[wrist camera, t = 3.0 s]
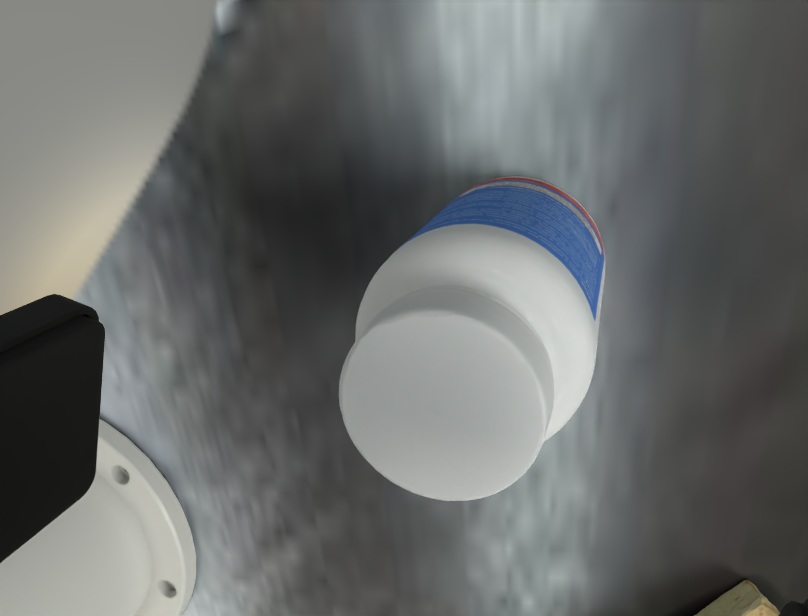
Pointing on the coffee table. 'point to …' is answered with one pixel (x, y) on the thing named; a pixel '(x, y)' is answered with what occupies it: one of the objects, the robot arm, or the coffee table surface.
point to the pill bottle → (476, 340)
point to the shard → (741, 603)
